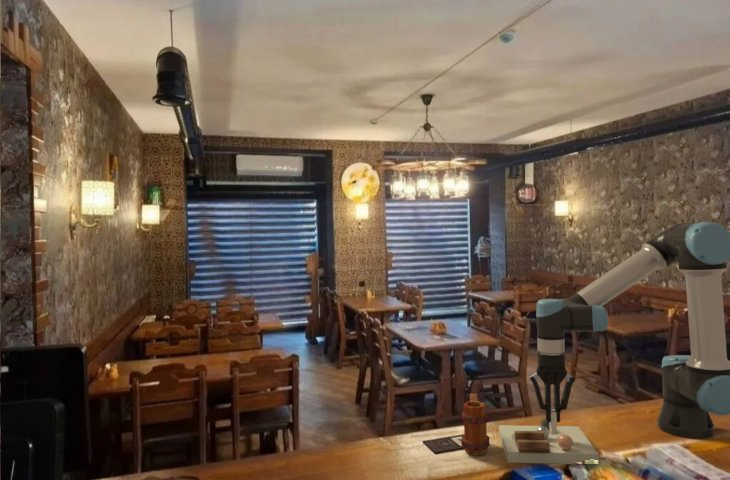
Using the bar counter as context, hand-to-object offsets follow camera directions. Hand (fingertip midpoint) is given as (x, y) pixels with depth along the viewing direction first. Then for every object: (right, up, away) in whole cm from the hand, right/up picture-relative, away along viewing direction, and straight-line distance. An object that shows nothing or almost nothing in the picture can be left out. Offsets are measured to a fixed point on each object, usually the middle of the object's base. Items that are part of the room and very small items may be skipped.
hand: (553, 432), depth 149 cm
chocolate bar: (-27, -6, +6) cm, 29 cm away
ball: (-3, 0, 0) cm, 3 cm away
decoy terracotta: (+1, 0, -8) cm, 8 cm away
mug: (-22, -6, +2) cm, 23 cm away
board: (-2, -5, 0) cm, 5 cm away
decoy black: (0, 0, +6) cm, 7 cm away
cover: (-8, -2, -6) cm, 11 cm away
